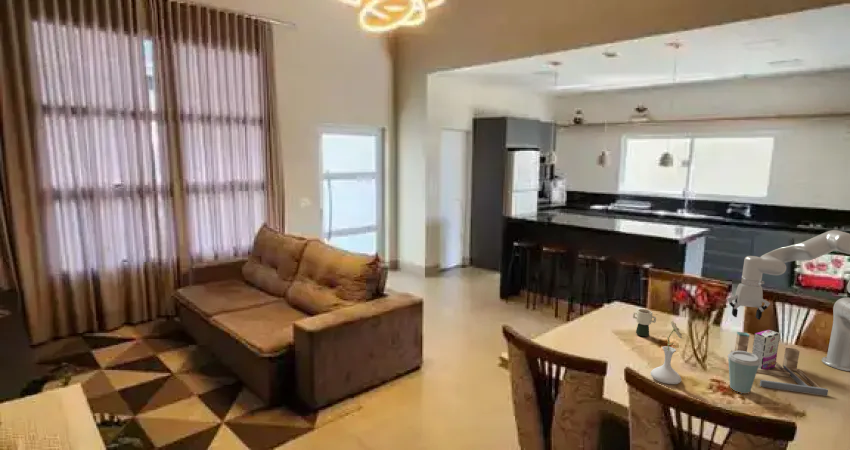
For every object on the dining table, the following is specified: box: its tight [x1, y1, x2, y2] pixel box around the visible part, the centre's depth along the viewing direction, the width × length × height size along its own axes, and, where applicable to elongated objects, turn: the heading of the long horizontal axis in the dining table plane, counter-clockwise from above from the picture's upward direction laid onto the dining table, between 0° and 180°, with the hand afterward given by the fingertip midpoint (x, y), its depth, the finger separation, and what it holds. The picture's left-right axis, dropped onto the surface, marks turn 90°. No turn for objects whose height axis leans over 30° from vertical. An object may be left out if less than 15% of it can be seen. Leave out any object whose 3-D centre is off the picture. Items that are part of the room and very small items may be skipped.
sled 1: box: [730, 331, 791, 378], centre depth 209 cm, size 16×23×10 cm
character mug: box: [632, 308, 657, 337], centre depth 237 cm, size 11×7×13 cm, turn 54°
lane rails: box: [759, 365, 829, 397], centre depth 194 cm, size 23×21×2 cm
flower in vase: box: [650, 320, 683, 385], centre depth 189 cm, size 13×11×25 cm
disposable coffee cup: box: [727, 350, 760, 394], centre depth 183 cm, size 11×11×15 cm
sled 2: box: [782, 347, 822, 388], centre depth 195 cm, size 5×22×9 cm, turn 165°
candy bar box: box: [751, 329, 781, 370], centre depth 203 cm, size 11×5×16 cm, turn 116°
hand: (746, 317), depth 217 cm, fingers open, 9 cm apart
